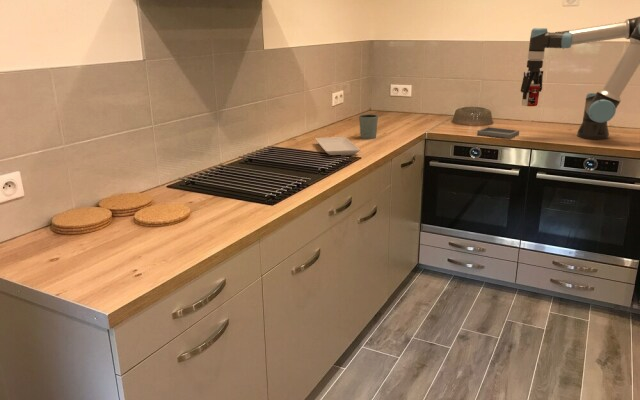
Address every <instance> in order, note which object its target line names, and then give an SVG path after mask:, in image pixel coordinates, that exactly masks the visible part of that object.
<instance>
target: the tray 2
mask: <svg viewBox="0 0 640 400" xmlns="http://www.w3.org/2000/svg"><path fill="white" fill-rule="evenodd" d="M519 135H520V130H518V129H510V128H509V129H508V128H499V127H491V126H486V127H484V128H481V129H478V130H477V132H476V136H479V137H488V138H494V137H495V138H496V139H503V140H511V139H513V137H514V138H515V136H516V137H518V136H519ZM495 138H494V139H495Z"/></svg>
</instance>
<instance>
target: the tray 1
mask: <svg viewBox="0 0 640 400" xmlns="http://www.w3.org/2000/svg"><path fill="white" fill-rule="evenodd" d="M314 140H315V141H316V142H317V143H318V145H319V146H320V147H321V148H322V149H323V150H324V151H325V153H327V154H328V155H329V156H330V155H341V156H353V155H354V154H356V153H360V152H361V149H360V148H359V147H358V146H357V145H355V144H354V143H353V142H352V141H350V139H349V138H348V137H345V136H337V137H334V136H333V137H331V136H330V137H315V138H314Z"/></svg>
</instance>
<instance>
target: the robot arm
mask: <svg viewBox="0 0 640 400" xmlns="http://www.w3.org/2000/svg"><path fill="white" fill-rule="evenodd" d="M530 31H531V32H530V36H529V37H530V38H529V47H528V53H527V54H528V55H527V61H526V62H527V63H526V68H528V70H527V71H524V72H523V78H522V83H521V87H520V92H521V93H522V98H523V100H521V106H523V105H524V107H528V106H527V104H528V96H529V93H528V91H529V88H530V85H531V83H534V84H540V90H539V93H540V92H542V90H543V81H544V80H543V76H544V70H541V69H542V68H543V66H544V61H543V60H544V59H545V49H549V48H550V49H562V50H563V49H570V48H571V47H572V46H574V45H581V44H588V43H596V42H604V41H611V40H618V39H626V40H629V41H630V43H629V45H628V46H627V48H626V49H625V50H624V53H623V55H622V56H621V58H620V60H619V62H617V64H616V66H615V68H614V69H613V71H612V73H611V75H610V76H609V78H608V79H607V81H606V83H605V85H604V86H603V88H602V89H600V90H597V92H596V93H595V92H593V93H590V92H589V93H587V94H586V96H585V103H584V110H583V115H582V116H583V117H582V122H581V124H580V126H579V128H578V130H577V132H576V137H579V138H580V139H581V138H582V139H585V140H587V139H588V140H607V139H609V136H610V132H609V126H608V122H609V121H611V120H612V119H613V117H615V114H616V111H617V108H618V106H619V105H620V103H621V101H622V100H621V95H622V94H623V92H624V90H625V89H626V87H627V86H628V84H629V83H630V81H631V79H632V77H633V75H635V73H636V71H637V69H638V68H639V66H640V16H636V17H632V18H627V19H625V21H620V22H614V23H608V24H601V25H596V26H594V25H593V26H587V27H582V28H576V29H570V30H569V29H568V30H564V31H556V32H550V31H549V32H548V28H546V27H545V28H543V27H542V28H541V27H535V28H532V29H531V30H530Z"/></svg>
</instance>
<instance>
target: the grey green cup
mask: <svg viewBox="0 0 640 400" xmlns="http://www.w3.org/2000/svg"><path fill="white" fill-rule="evenodd" d="M358 118H359V119H358V121H359V133H360V134H359V135H360V139H363V140H374V139H376V138H377V130H378V119H379V116H378V114H373V113H365V114H361V115H358Z"/></svg>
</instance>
